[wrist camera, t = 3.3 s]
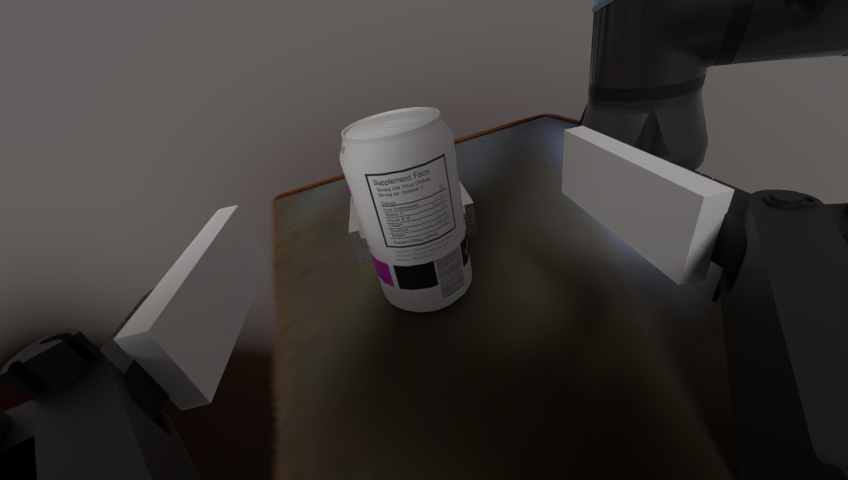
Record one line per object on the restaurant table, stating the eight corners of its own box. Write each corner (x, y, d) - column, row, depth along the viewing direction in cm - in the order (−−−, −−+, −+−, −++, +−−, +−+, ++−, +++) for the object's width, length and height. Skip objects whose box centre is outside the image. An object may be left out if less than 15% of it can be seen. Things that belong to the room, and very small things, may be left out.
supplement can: (368, 304, 31) (307, 143, 23) (414, 252, 37) (378, 107, 29) (447, 329, 27) (407, 143, 19) (486, 265, 33) (468, 101, 25)
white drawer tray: (477, 235, 37) (469, 165, 33) (360, 264, 37) (335, 197, 32) (439, 166, 56) (430, 116, 51) (360, 185, 55) (345, 136, 51)
